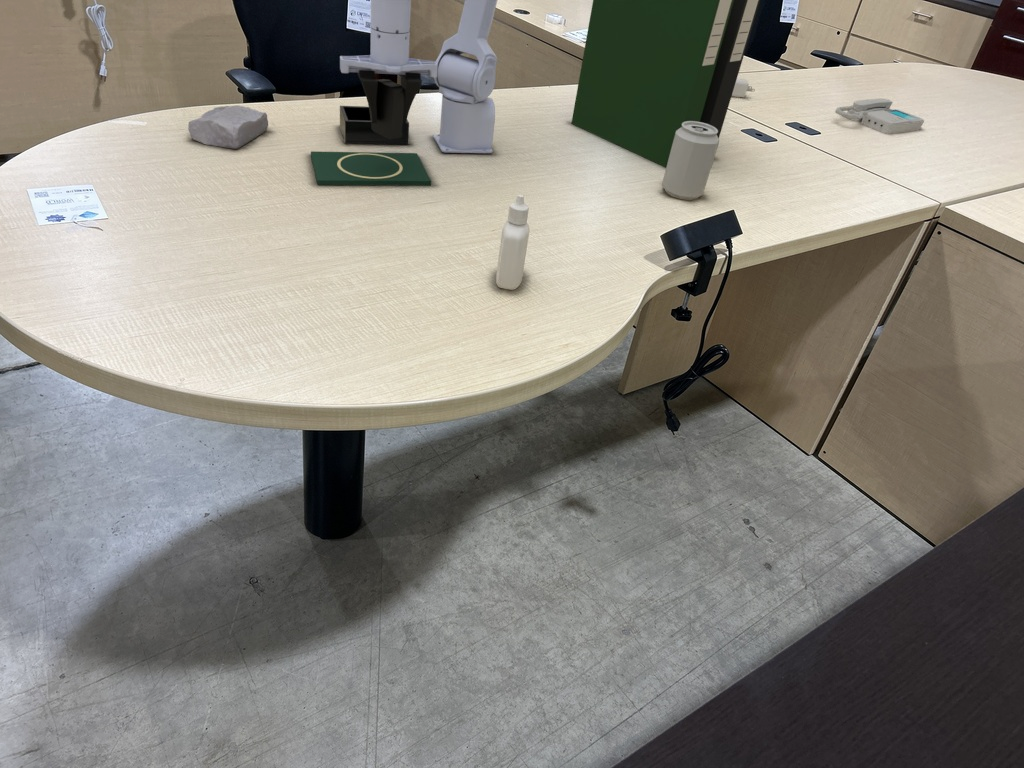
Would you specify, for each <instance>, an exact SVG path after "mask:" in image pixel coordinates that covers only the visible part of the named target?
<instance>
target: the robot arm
mask: <svg viewBox="0 0 1024 768" xmlns="http://www.w3.org/2000/svg"><path fill="white" fill-rule="evenodd" d="M497 4H498V0H464V4H463V7H462V8H463V9H462V12H461V16H460V20H459V25H458V30H457V32H456V33H455V34H454V35H452V36H450V37H448V38H447V39H446V40H444V41H443V42H442V46H441V49H440V52H439V54H438V56H437V58H436V60H428V59H427V60H426V59H418V58H412V57H410V37H411V14H412V13H411V10H412V0H370V47H369V48H370V51H369V52H370V54H368V55H367V54H365V55H340V56H339V71H340V72H341V74H349V73H357V76H358V78H359V81H360V83H361V87H362V88H363V92H364V94H365V99H366V102H367V107H369V111H370V119H371V122H372V123H377V107H376V100H377V86H378V82H377V80H378V79H377V75H376V74H380V75H381V74H382V75H383V74H384V75H400V85H402V87H403V88H405V99H404V113H403V124H406V121H407V120H408V117H409V113H410V111H411V107H412V104H413V102H414V99H415V98H416V95H417V94H418V92H419V91H420V89H421V87H422V83H423V80H422V78H421V76H422V77H424V76H425V77H430V78H433V79H434V83H435V85H436V86H437V87H438V93H439V94H441V96H442V97H441V110H440V111H441V112H440V124H439V125H440V126H439V134H433V139H434V142H435V143H436V145H437V146H438V148H439V149H440V151H441V152H442V153H445V154H446V153H447V154H448V153H449V154H454V153H455V154H493V149H492V148H493V139H494V130H495V121H496V107H495V102H494V100H493V98H492V97H490V95H491V94H492V92H493V91H494V88H495V85H496V80H497V79H496V72H497V71H496V70H497V63H498V60H499V59H498V57H497V55H496V53H495V52H494V51H493V49H492V47H491V46H490V44H489V42H488V40H489V37H490V32H491V28H492V24H493V21H494V16H495V13H496V8H497ZM462 54H466V55H470V56H473V57H475V58H476V59H475V58H472V57H468V56H465V55H462Z"/></svg>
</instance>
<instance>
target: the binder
mask: <svg viewBox="0 0 1024 768" xmlns="http://www.w3.org/2000/svg"><path fill="white" fill-rule="evenodd" d="M760 4H761V0H592V4H591V10H590V16H589V22H588V27H587V31H586V33H587V34H586V38H585V44H584V50H583V55H582V62H581V67H580V72H579V77H578V83H577V88H576V93H575V94H576V95H575V100H574V106H573V111H572V117H571V124H572V125H574V126H575V127H578V128H580V129H582V130H583V131H586V132H589V133H591V134H593V135H596V136H597V137H599V138H602V139H604V140H606V141H607V142H610V143H611V144H614V145H616V146H619V147H621V148H623V149H625V150H628V151H629V152H631V153H634V154H636V155H638V156H641V157H642V158H645V159H647V160H649V161H651V162H654V163H655V164H657V165H659V166H662V167H664V168H666V167H667V163H668V159H669V156H670V152H671V148H672V144H673V140H674V137H675V133H676V131H677V130H678V129H679V128H681V127H682V123H683V122H686V121H697V122H702V123H706V124H709V125H711V126H713V127H715V128H716V129H717V130H718V133H717V136H718V138H719V139H720V136H721V132H722V129H723V126H724V123H725V119H726V116H727V113H728V109H729V106H730V104H731V99H732V93H733V90H734V86H735V83H736V80H737V78H738V77H739V73H740V70H741V66H742V63H743V60H744V56H745V53H746V50H747V47H748V43H749V39H750V36H751V33H752V30H753V26H754V23H755V20H756V16H757V13H758V11H759V7H760Z"/></svg>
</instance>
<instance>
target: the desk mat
mask: <svg viewBox="0 0 1024 768" xmlns="http://www.w3.org/2000/svg"><path fill="white" fill-rule="evenodd" d="M310 158H311V162H312V166H313V171H314V176H315V179H316V184H317V186H432V179H431V177H430V175H429V174H428V172H427V170H426V168H425V166H424V164H423V162H422V160H421V158H420V156H419V154H418V153H417V152H373V151H371V152H369V151H368V152H367V151H312V150H311V151H310Z"/></svg>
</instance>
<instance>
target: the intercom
mask: <svg viewBox="0 0 1024 768" xmlns="http://www.w3.org/2000/svg"><path fill="white" fill-rule="evenodd" d="M892 104H893V101H892V100H890V99H888V98H869V99H861V100H860V99H859V100H855V101H853V104H852V105H847V106H846V105H845V106H839V107H837V108H836V109H835V110H834V111H835V112H834V113H835V114H837V115H839V116H841V117H843V118H846V119H849V120H852V121H854V122H860V123H861V125H864V126H866V127H868V128H871V129H874V130H876V131H879V132H881V133H884V134H887V135H892V134H900V133H905V132H913V131H920V130H921V128H922V126H923V124H924V122H925V119H924V118H923V117H920V116H917V115H914V114H911V113H909V112H906V111H904V110H901V109H891V106H892Z"/></svg>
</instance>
